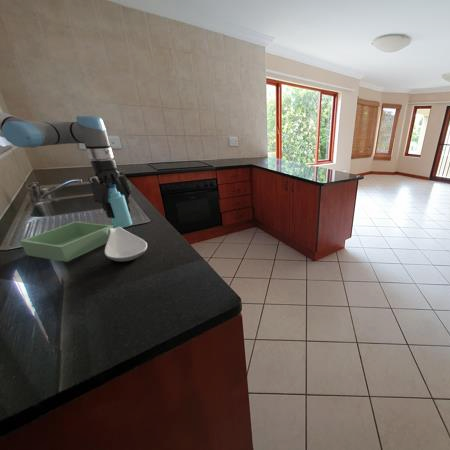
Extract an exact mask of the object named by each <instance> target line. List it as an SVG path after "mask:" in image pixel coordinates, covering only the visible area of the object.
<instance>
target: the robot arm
mask: <svg viewBox="0 0 450 450" xmlns="http://www.w3.org/2000/svg"><path fill="white" fill-rule="evenodd" d="M75 120H76V121H58V120H57V121H56V120H54V121H53V120H51V121H34V120H33V121H32V120H27V119H25V118H21V117H17V116H15V115H12V114H9V113H6V112H2V111H0V137H1V138H4V139H5V140H6V141H7V142H9V144H10V143H11V145H13V146H15V147H19V148H38V147H45V146H56V145H66V144H67V145H69V144H84V147H85V150H86V152H87V156H88V159H89V160H90V165H91V168H92V170H93V172H94V176H92V177H87V181H88V182H89V183H90V187H91V191H92V196H93V200H94V203H95V204H101V207H102V210H103V211H104V212H105V213H106V216H107V218H108V219H111V218H115V216H114V213H113V210H112V207H111V204H110V203H108V186H109V184H112V183H114V184H116V189H117V191H119V192H120V194H122V195H124V197H125V200H126V204H127V207H128V210H129V213H130V212H131V208H130V200H129V197H130V195H131V194H132V191H131V188H130V186H129V184H128V181H127V178H126V173H125V172H124V171H118V170H117V168H118V167H117V163H116V160H115V159H114V154H113V149H112V146H111V144H110V140H109V137H108V132H107V128H106V126H105V124H104V120H103V119H102V118H101V117H100V116H98V115H97V116H95V115H94V116H93V115H92V116H91V115H76V117H75Z"/></svg>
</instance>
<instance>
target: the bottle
mask: <svg viewBox="0 0 450 450" xmlns="http://www.w3.org/2000/svg"><path fill="white" fill-rule="evenodd" d="M108 203H110V204H111V207H112V210H113V213H114V216H115V218H110V221H111V224H112V227H113V229H114V228H117V227H121V228H123V229H124V228H128V227H131V226H132V225H133V221H132V217H131V214H130V212H129V210H128V207H127V204H126V200H125V197H124V195H122V194H120V192H119V191H117V189H116V184H114V183H110V184H109V186H108Z"/></svg>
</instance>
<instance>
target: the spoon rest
mask: <svg viewBox="0 0 450 450" xmlns="http://www.w3.org/2000/svg"><path fill="white" fill-rule="evenodd" d="M147 249H148V243H147V242H146V241H145V239H143V238H141V237H139V236H138V235H135V234H133V233H131V232H129V231H127V230H126V229H124V228H121V227H117V228H114V227H113V229H109V230H108V241H107V243H106V244H105V247H104V255H105V257H107V258H108V259H109V260H113V261H114V262H121V263H122V262H130V261H133V260H136V259H137V258H140V257H141V256H142V255H143V254H144V253H146V251H147Z"/></svg>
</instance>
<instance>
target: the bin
mask: <svg viewBox="0 0 450 450" xmlns="http://www.w3.org/2000/svg"><path fill="white" fill-rule="evenodd" d="M109 229H114V227H113V225H110V224H101V223H95V222H94V223H93V222H85V221H79V220H77V221H73V222H70V223H66V224H64V225H61V226H58V227H56V228H54V229H53V228H52V229H50V230H47V231H44V232H42V233H41V232H40V233H38V234H36V235H32V236H29V237H26V238H23V239H21V240H19V242H20V245H21V247H22V248H23V250H24V253H25V254H26V256H27V257H28V256H29V257H34V258H42V259H46V260H47V259H48V260H53V261H59V262H65V263H68V262H70V261H73V260H74V259H76V258H78V257H80V256H83V255H85V254H87V253H89V252H91V251H93V250H95V249H98V248H99V247H102V246H104V245H106V244H107V241H108V230H109Z"/></svg>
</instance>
